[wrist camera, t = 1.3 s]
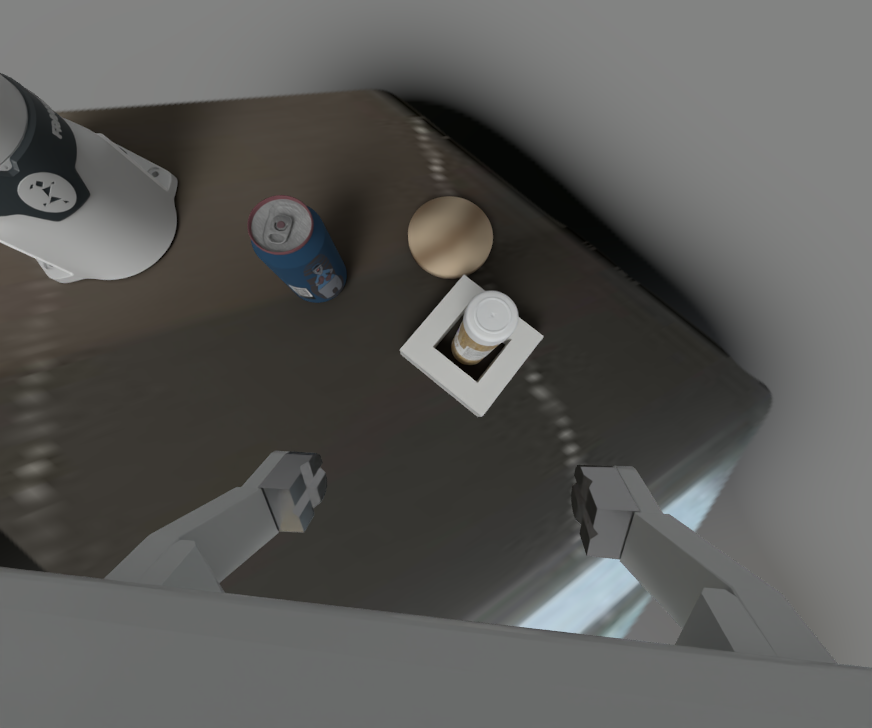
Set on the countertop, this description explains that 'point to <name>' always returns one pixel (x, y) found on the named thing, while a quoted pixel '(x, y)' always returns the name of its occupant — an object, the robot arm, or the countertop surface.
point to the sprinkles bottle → (484, 326)
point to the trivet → (450, 237)
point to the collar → (452, 377)
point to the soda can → (297, 247)
